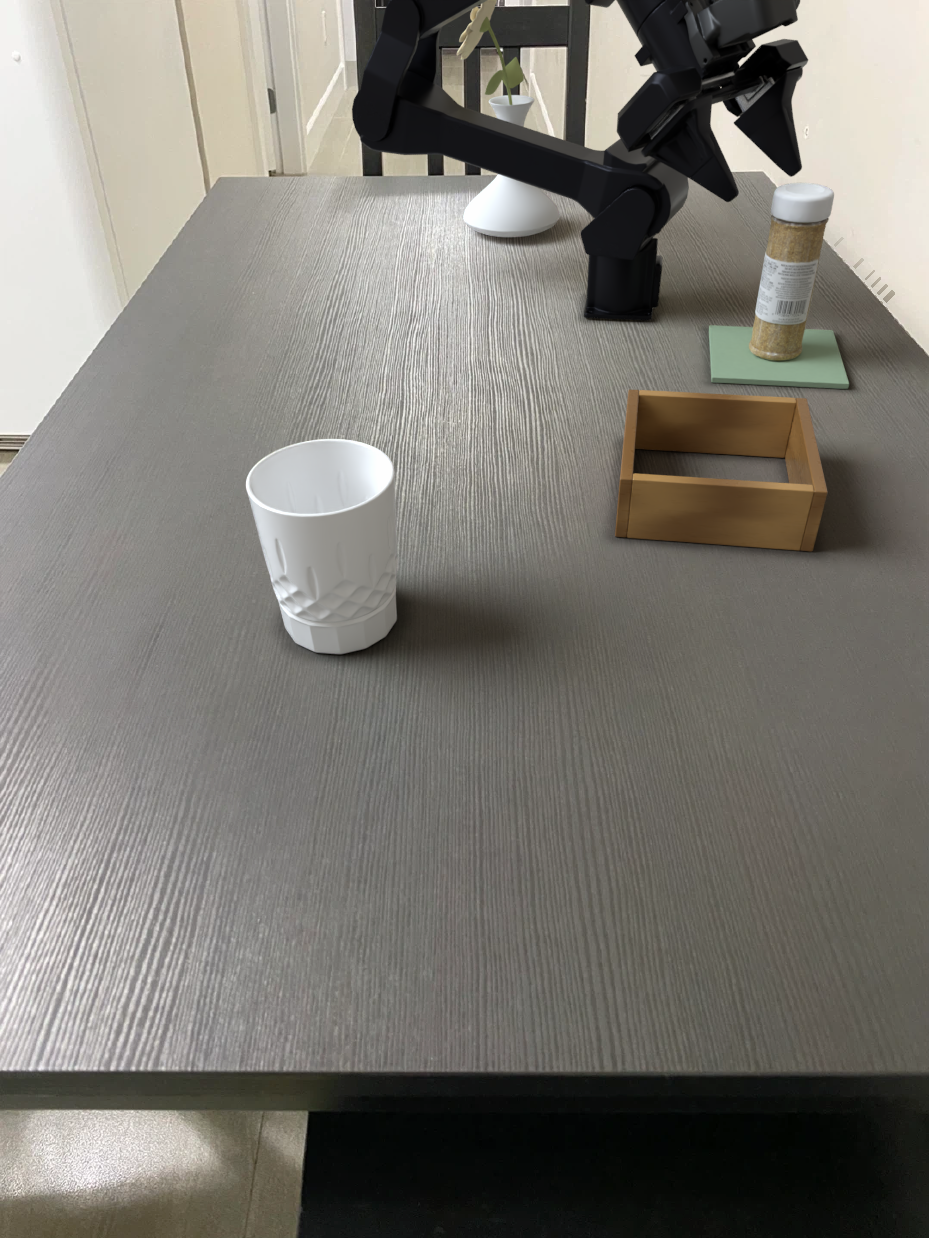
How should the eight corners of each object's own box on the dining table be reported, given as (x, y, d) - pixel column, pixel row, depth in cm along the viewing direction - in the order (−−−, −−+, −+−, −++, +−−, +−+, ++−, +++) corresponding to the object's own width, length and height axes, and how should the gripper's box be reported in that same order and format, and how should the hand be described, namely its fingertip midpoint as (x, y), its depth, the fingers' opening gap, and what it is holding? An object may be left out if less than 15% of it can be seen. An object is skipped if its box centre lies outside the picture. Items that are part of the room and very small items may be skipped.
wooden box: (614, 537, 62) (619, 478, 59) (623, 443, 71) (628, 389, 69) (812, 552, 60) (828, 492, 57) (794, 453, 69) (807, 398, 67)
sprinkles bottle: (801, 343, 83) (835, 182, 74) (800, 365, 80) (836, 198, 71) (748, 339, 84) (775, 179, 75) (745, 360, 81) (773, 195, 72)
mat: (711, 382, 79) (712, 377, 78) (708, 330, 87) (709, 325, 87) (848, 389, 77) (849, 383, 77) (831, 335, 85) (833, 330, 85)
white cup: (280, 583, 59) (252, 443, 53) (405, 574, 59) (392, 433, 53) (271, 668, 53) (238, 521, 47) (409, 657, 53) (396, 509, 47)
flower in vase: (500, 210, 117) (499, -32, 101) (578, 225, 112) (589, -28, 96) (435, 239, 109) (422, -18, 93) (514, 257, 104) (515, -13, 88)
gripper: (663, -63, 63) (778, 142, 64) (809, -83, 73) (908, 95, 73) (570, 60, 72) (671, 236, 73) (710, 27, 82) (798, 184, 83)
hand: (766, 185), depth 75 cm, fingers open, 9 cm apart
